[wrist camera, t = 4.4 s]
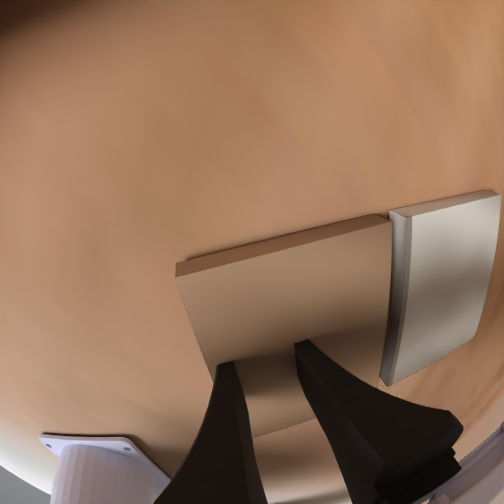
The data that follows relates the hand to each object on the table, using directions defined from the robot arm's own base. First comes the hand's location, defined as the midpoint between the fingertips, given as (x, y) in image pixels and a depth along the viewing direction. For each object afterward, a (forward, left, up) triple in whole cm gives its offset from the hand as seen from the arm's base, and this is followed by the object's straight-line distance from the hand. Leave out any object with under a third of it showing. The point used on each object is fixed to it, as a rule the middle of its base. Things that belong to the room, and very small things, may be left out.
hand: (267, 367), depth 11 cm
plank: (0, -2, -1) cm, 2 cm away
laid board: (0, -10, -1) cm, 11 cm away
